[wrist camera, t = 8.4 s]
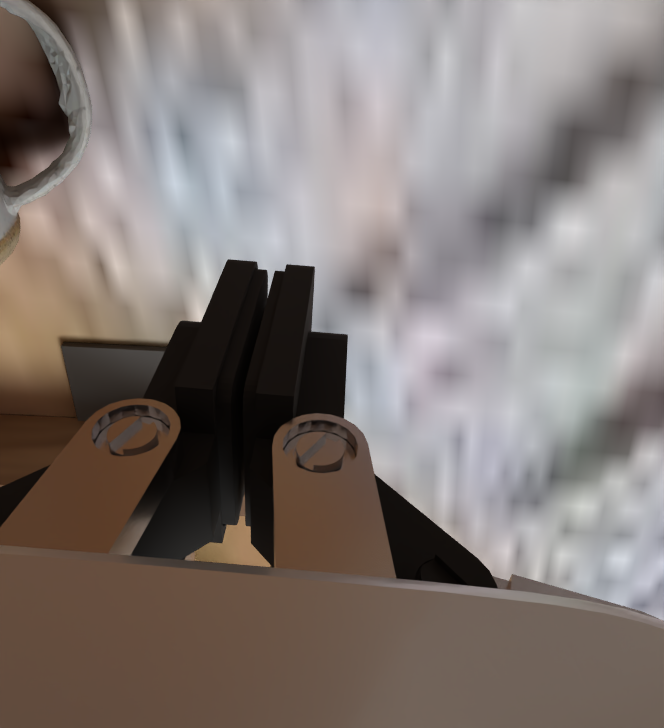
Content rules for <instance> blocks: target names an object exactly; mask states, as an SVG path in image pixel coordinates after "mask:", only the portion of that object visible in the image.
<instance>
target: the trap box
mask: <svg viewBox="0 0 664 728" xmlns="http://www.w3.org/2000/svg"><path fill="white" fill-rule="evenodd" d="M61 348H62V353H63V357H64V361H65V366H66V370H67V375H68V379H69V383H70V388H71V392H72V397H73V401H74V406H75V410H76V414H77V418H69V417H48V416H26V415H4V414H0V487H2V486H4V485H6V484H8V483H11V482H13V481H15V480H17V479H20V478H22V477H24V476H26V475H28V474H31V473H33V472H35V471H37V470H40V469H42V468H44V467H46V466H48V465H51V464H52V463H53V461H54V460H55V459H56V458H57V456H58V455H59V454H60V453H61V452H62V450H63V449H64V448H65V447H66V445H67V444H68V443H69V442H70V440H71V439H72V438H73V437H74V435H75V434H76V433H77V432H78V431H79V429H80V428H81V427H82V426H83V424H84V423H85V422H86V421H87V420H88V419H89V418H90V417H91V416H92V415H93V414H94V413H95V412H96V411H98V410H100V409H102V408H104V407H105V406H107V405H109V404H112V403H116V402H119V401H122V400H128V399H137V398H141V399H143V396H144V394H145V392H146V390H147V388H148V386H149V384H150V382H151V380H152V378H153V375H154V373H155V371H156V369H157V367H158V365H159V363H160V361H161V359H162V357H163V355H164V352H165V350H166V348H167V347H150V346H131V345H112V344H93V343H74V342H63V344H62V346H61ZM239 516H245V492H244V497H243V502H242V506H241V511H240V515H239Z"/></svg>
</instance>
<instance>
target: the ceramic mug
mask: <svg viewBox="0 0 664 728" xmlns="http://www.w3.org/2000/svg"><path fill="white" fill-rule="evenodd" d="M0 6H1V7H3V8H5V9H6V10H7V11H8V12H9V13H11V14H14V15H17V16H19V17H21V18H23V19H25V20H26V21H27V22H28V23H29V25H30V26H31V28H32V29H33V31H34V32H35V34H36V36H37V38H38V40H39V42H40V44H41V46H42V48H43V50H44V52H45V54H46V56H47V58H48V60H49V63H50V65H51V67H52V69H53V72H54V74H55V76H56V79H57V83H58V86H59V89H60V92H61V95H60V100H59V105H60V107H61V108H62V110H63V111H64V113H65V114H66V115H67V116H68V125H69V133H70V137H69V140H68V142H67V144H66V146H65V148H64V151H63V153H62V154H61V155H60V156H59V157H58V158H57V159H56V160H54V161H53V162H52V163H51V165H50V166H49V167H48V168H47V169H45V170H44V171H42V172H41V173H39V174H38V175H36V176H35V177H34V178H32V179H30V180H28V181H26V182H24V183H22V184H20V185H17V186H12V187H11V186H7V185H6V183H5V182H4V180H3V178H2V177H1V175H0V265H1V264H2V263H3V262H4V261H5V260H6V259H7V258H8V257H9V256H10V255H11V253H12V252H13V251H14V249H15V247H16V245H17V243H18V240H19V234H20V217H19V214H18V211H19V209H20V207H21V205H24V204H27V203H30V202H32V201H34V200H36V199H38V198H40V197H42V196H44V195H46V194H47V193H48V192H50V191H51V190H52V189H53V188H54V187H55V186H57V185H59V184H60V183H62V182H63V180H64V179H65V178H66V177H67V176H68V175H69V173H70V172H71V171H72V170H73V169H74V168H75V167H76V165H77V164H78V163H79V161H80V159H81V157H82V155H83V153H84V151H85V149H86V147H87V144H88V140H89V137H90V132H91V122H92V105H91V100H90V95H89V92H88V88H87V85H86V82H85V78H84V75H83V72H82V69H81V67H80V65H79V63H78V61H77V59H76V56H75V54H74V52H73V50H72V48H71V46H70V45H69V43H68V42H67V40H66V38H65V37H64V35H63V34H62V32H61V31H60V29H59V28H58V26H57V25H56V24H55V23H54V22H53V21H52V20H51V19H50V18H49V17H48V16H47V15H46V14H45V13H44V12H43V11H41V10H40V9H39V8H38V7H36V6H35V5H34V4H33V3H31V2H30V1H29V0H0Z"/></svg>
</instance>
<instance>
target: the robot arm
mask: <svg viewBox="0 0 664 728" xmlns="http://www.w3.org/2000/svg"><path fill="white" fill-rule="evenodd" d="M314 274H315V267H312V266H300V265H288V264H287V265H286V269H285V272H284V271H275V273H274V277H273V280H272V284H271V288H270V292H269V295H268V274H267V270H260V269H258V266H257V262H253V261H241V260H229V259H228V260H227V262H226V264H225V267H224V269H223V272H222V274H221V276H220V279H219V281H218V283H217V286H216V288H215V291H214V293H213V295H212V298H211V300H210V303H209V305H208V307H207V310H206V312H205V314H204V317H203V319H202V322H192V321H180V322H179V324H178V325H177V327H176V329H175V331H174V334H173V336H172V338H171V340H170V342H169V344H168V346H167V348H166V350H165V352H164V355H163V357H162V359H161V361H160V363H159V365H158V367H157V369H156V371H155V373H154V375H153V378H152V380H151V382H150V384H149V386H148V388H147V390H146V392H145V394H144V396H143V399H141V398H137V399H128V400H122V401H119V402H116V403H112V404H109V405H107V406H105V407H104V408H102V409H100V410H98V411H96V412H95V413H94V414H93V415H92V416H91V417H90V418H89V419H88V420H87V421H86V422H85V423H84V424H83V426H82V427H81V428H80V429H79V431H78V432H77V433H76V434H75V435H74V437H73V438H72V439H71V440H70V442H69V443H68V444H67V445H66V447H65V448H64V449H63V450H62V452H61V453H60V454H59V455H58V456H57V458H56V459H55V460H54V461H53V463H52V464H51V465H48V466H46V467H44V468H42V469H40V470H37V471H35V472H33V473H31V474H28V475H26V476H24V477H22V478H20V479H17V480H15V481H13V482H11V483H8V484H6V485H4V486H2V487H0V728H664V621H663V620H660V619H658V618H656V617H654V616H651V615H649V614H647V613H645V612H642V611H639V610H635V609H632V608H628V607H625V606H621V605H618V604H614V603H611V602H607V601H604V600H600V599H597V598H593V597H590V596H587V595H583V594H580V593H576V592H573V591H569V590H566V589H562V588H559V587H555V586H552V585H548V584H545V583H541V582H538V581H534V580H531V579H527V578H524V577H520V576H517V575H513V574H512V575H511V578H510V580H509V581H507V580H504V579H500V578H497V577H493V576H492V575H491V573H490V571H489V570H488V569H487V568H486V567H485V566H484V565H483V564H482V562H481V561H480V560H479V559H478V558H477V557H475V556H474V555H473V554H472V553H470V552H469V551H468V550H467V549H466V548H464V547H463V546H462V545H461V544H459V543H458V542H457V541H456V540H454V539H453V538H452V537H451V536H450V535H448V534H447V533H446V532H445V531H443V530H442V529H441V528H440V527H439V526H437V525H436V524H435V523H434V522H432V521H431V520H430V519H429V518H428V517H426V516H425V515H424V514H423V513H421V512H420V511H419V510H418V509H417V508H415V507H414V506H413V505H412V504H410V503H409V502H408V501H407V500H406V499H404V498H403V497H402V496H401V495H399V494H398V493H397V492H396V491H395V490H393V489H392V488H391V487H390V486H388V485H387V484H386V483H385V482H384V481H382V480H381V479H380V478H379V477H377V476H376V475H375V474H374V471H373V466H372V461H371V456H370V452H369V447H368V443H367V441H366V439H365V436H364V434H363V433H362V432H361V431H360V430H359V429H358V428H357V427H356V426H355V425H354V424H352V423H351V422H349V421H347V420H345V419H344V404H345V383H346V362H347V341H348V335H346V334H334V333H322V332H311V326H312V309H313V292H314ZM244 492H245V522H246V526H251V544H252V545H253V546H254V547H255V548H256V549H257V550H258V551H259V553H260V554H261V555H262V556H263V557H264V558H265V559H266V560H267V561H268V562H269V563H270V565H271V566H270V567H261V566H249V565H237V564H225V563H213V562H201V561H195V554H194V551H196V550H198V549H199V548H201V547H202V546H204V545H206V544H207V543H209V542H214V543H222V542H223V538H224V533H225V529H226V525H237V523H238V520H239V515H240V511H241V506H242V502H243V497H244Z"/></svg>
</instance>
